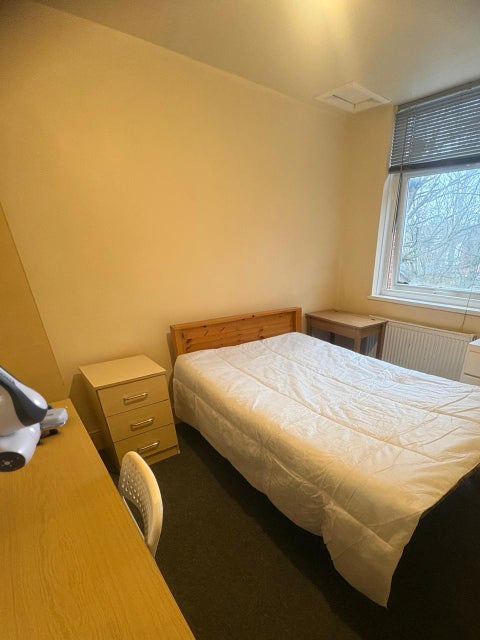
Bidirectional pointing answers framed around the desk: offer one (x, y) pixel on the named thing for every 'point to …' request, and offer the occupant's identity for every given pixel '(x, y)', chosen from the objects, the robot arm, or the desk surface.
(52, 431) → the gaming controller
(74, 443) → the desk surface
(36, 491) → the desk surface
